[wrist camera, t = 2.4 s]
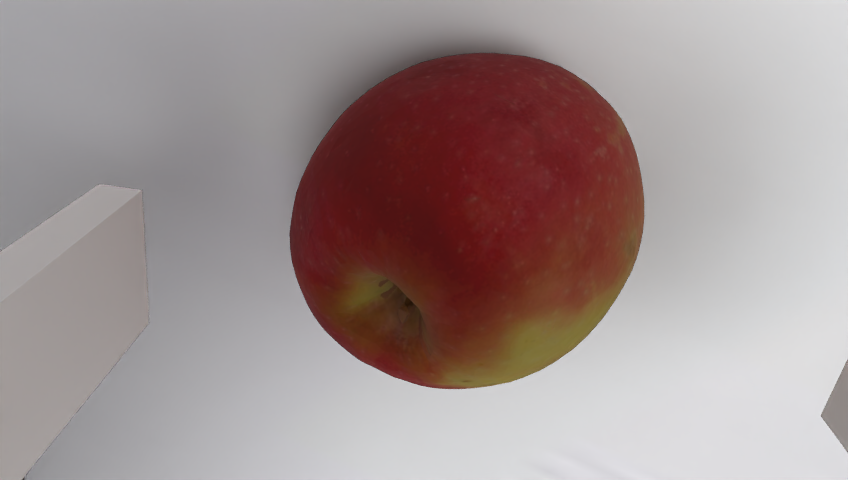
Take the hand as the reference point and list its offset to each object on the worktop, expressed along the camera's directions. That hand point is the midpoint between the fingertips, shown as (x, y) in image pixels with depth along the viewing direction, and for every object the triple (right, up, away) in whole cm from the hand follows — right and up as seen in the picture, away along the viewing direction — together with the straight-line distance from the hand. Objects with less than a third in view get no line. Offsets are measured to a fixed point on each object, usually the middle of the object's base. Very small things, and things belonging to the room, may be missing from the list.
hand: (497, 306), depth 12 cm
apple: (0, +3, +7) cm, 8 cm away
